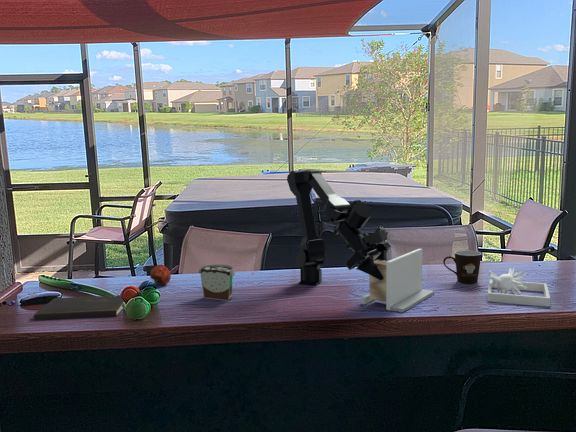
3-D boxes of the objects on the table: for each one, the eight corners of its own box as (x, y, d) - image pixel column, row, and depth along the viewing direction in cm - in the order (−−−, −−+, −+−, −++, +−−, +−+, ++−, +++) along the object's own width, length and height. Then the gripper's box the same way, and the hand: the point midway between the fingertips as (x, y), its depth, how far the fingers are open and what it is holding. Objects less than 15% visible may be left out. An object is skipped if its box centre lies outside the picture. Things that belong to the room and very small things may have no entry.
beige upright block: (369, 298, 156) (369, 262, 154) (377, 294, 160) (377, 259, 158) (387, 302, 152) (387, 265, 151) (395, 298, 156) (395, 261, 154)
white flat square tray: (487, 301, 156) (487, 293, 156) (489, 286, 171) (489, 279, 171) (549, 306, 150) (550, 298, 149) (546, 291, 165) (546, 283, 165)
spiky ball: (489, 290, 171) (487, 265, 170) (530, 290, 166) (528, 264, 165) (486, 299, 161) (484, 272, 160) (529, 299, 156) (527, 271, 155)
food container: (243, 296, 168) (242, 265, 167) (233, 301, 162) (231, 270, 161) (210, 292, 173) (209, 262, 172) (199, 297, 168) (198, 266, 166)
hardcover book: (54, 305, 165) (54, 298, 165) (129, 301, 167) (128, 294, 167) (34, 322, 149) (33, 314, 149) (116, 318, 151) (116, 310, 151)
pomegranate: (162, 294, 180) (180, 273, 185) (148, 280, 177) (167, 258, 182) (152, 293, 186) (170, 271, 191) (138, 279, 182) (157, 258, 187)
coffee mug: (483, 280, 179) (484, 251, 178) (477, 286, 172) (478, 256, 171) (449, 276, 186) (449, 248, 184) (442, 282, 179) (442, 253, 177)
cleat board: (359, 304, 156) (359, 258, 154) (393, 287, 173) (393, 245, 172) (403, 312, 148) (403, 264, 146) (434, 294, 165) (434, 250, 163)
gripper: (354, 224, 148) (389, 267, 143) (385, 215, 162) (418, 254, 157) (331, 248, 154) (364, 291, 148) (363, 238, 168) (394, 276, 163)
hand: (386, 277), depth 154 cm, fingers closed on beige upright block, 5 cm apart
